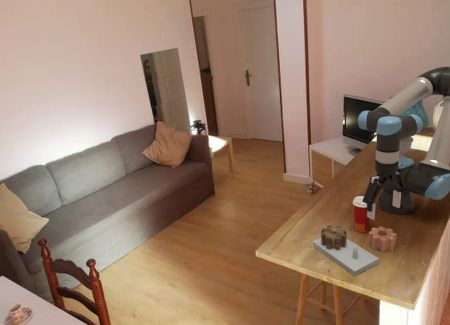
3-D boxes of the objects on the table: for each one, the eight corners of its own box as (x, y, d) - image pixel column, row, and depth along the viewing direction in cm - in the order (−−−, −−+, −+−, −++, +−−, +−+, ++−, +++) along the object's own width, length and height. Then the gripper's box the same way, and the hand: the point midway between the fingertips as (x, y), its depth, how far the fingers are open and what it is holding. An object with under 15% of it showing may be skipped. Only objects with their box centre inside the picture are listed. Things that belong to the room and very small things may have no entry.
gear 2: (380, 234, 141) (381, 223, 139) (401, 245, 133) (402, 234, 131) (363, 242, 137) (363, 232, 135) (383, 254, 129) (384, 243, 127)
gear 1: (334, 233, 142) (334, 220, 140) (351, 244, 134) (352, 230, 132) (316, 241, 138) (316, 228, 136) (333, 253, 130) (333, 239, 128)
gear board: (335, 235, 144) (335, 221, 141) (378, 263, 125) (379, 247, 123) (312, 245, 139) (312, 231, 137) (354, 275, 121) (355, 259, 118)
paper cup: (366, 222, 150) (368, 194, 144) (374, 232, 142) (376, 203, 137) (349, 225, 150) (349, 196, 144) (356, 235, 142) (356, 205, 137)
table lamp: (432, 173, 185) (441, 100, 170) (387, 177, 187) (392, 105, 172) (411, 157, 207) (417, 91, 193) (371, 161, 209) (374, 96, 194)
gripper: (401, 148, 130) (397, 198, 138) (352, 166, 120) (351, 218, 128) (420, 154, 123) (414, 205, 131) (370, 173, 114) (367, 227, 122)
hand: (383, 212), depth 130 cm, fingers open, 13 cm apart
